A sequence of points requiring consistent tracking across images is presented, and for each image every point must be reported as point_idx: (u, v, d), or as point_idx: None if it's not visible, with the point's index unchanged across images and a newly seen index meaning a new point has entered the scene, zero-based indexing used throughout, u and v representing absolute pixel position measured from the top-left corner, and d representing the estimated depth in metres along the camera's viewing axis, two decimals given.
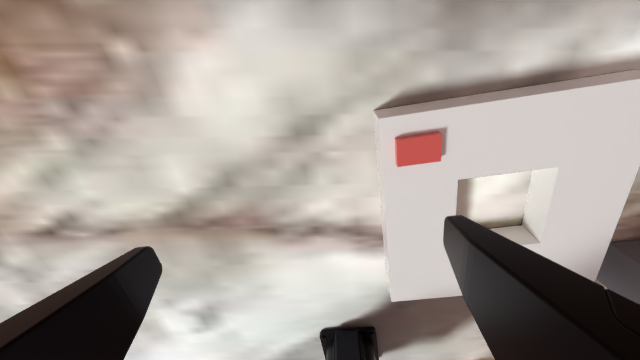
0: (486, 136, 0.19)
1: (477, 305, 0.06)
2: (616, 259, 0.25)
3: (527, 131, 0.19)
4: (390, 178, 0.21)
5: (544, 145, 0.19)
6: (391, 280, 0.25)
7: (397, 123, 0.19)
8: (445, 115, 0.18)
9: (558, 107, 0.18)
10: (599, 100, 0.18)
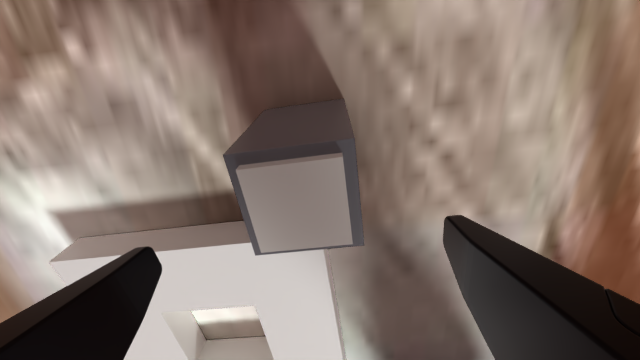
0: (150, 359, 0.23)
1: (477, 305, 0.06)
2: None
3: (137, 338, 0.21)
4: None
5: (144, 326, 0.21)
6: None
7: None
8: None
9: None
10: None
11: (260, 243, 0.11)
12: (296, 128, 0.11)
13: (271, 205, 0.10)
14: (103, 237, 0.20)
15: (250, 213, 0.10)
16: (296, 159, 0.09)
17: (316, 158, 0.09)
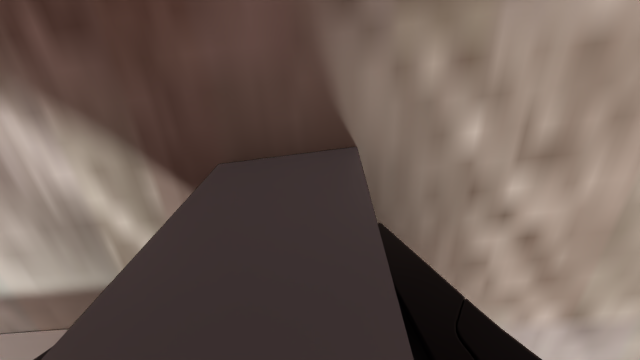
0: None
1: None
2: None
3: None
4: None
5: None
6: None
7: None
8: None
9: None
10: None
11: None
12: (250, 267, 0.04)
13: None
14: None
15: None
16: None
17: None
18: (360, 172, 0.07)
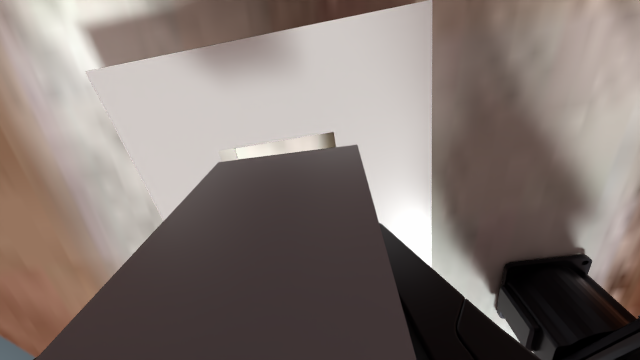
0: None
1: None
2: None
3: None
4: None
5: (197, 175, 0.17)
6: None
7: None
8: None
9: (156, 175, 0.17)
10: (137, 139, 0.16)
11: None
12: (249, 264, 0.04)
13: None
14: None
15: None
16: None
17: None
18: (360, 169, 0.07)
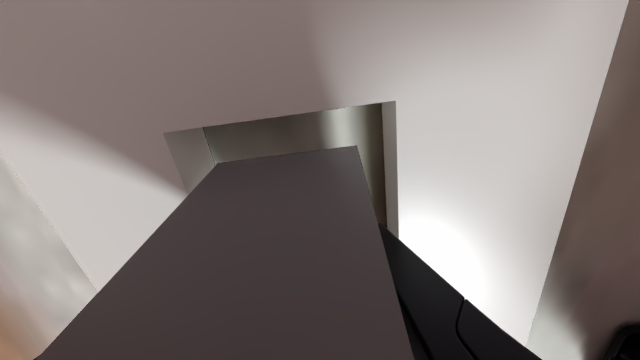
0: None
1: None
2: None
3: (110, 215, 0.10)
4: None
5: (125, 178, 0.09)
6: None
7: None
8: None
9: (48, 177, 0.09)
10: None
11: None
12: (249, 265, 0.04)
13: None
14: None
15: None
16: None
17: None
18: (360, 171, 0.07)
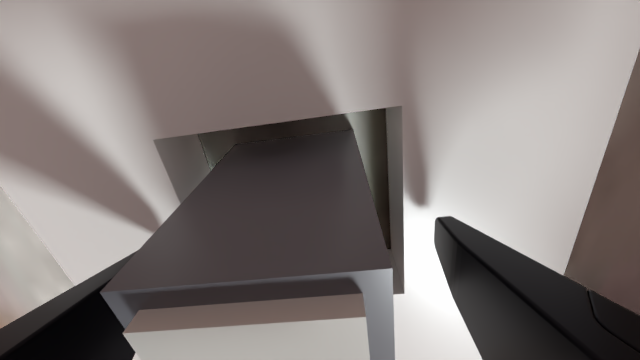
0: None
1: (465, 306, 0.06)
2: None
3: (99, 225, 0.09)
4: None
5: (114, 187, 0.09)
6: None
7: None
8: None
9: (33, 186, 0.09)
10: None
11: None
12: (272, 204, 0.06)
13: None
14: None
15: None
16: (260, 308, 0.04)
17: (304, 310, 0.04)
18: (355, 146, 0.08)
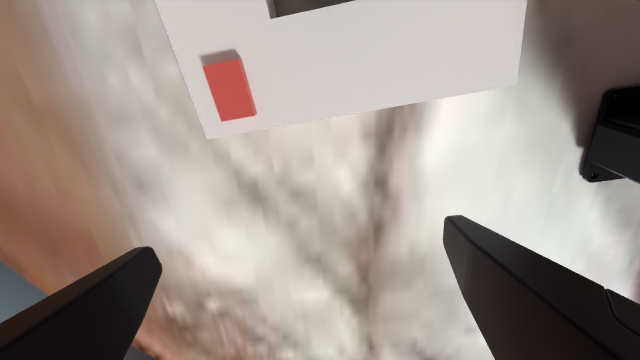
0: None
1: (477, 305, 0.06)
2: None
3: None
4: (277, 117, 0.16)
5: None
6: (462, 92, 0.15)
7: (207, 118, 0.16)
8: (186, 61, 0.15)
9: None
10: None
11: None
12: None
13: None
14: None
15: None
16: None
17: None
18: None
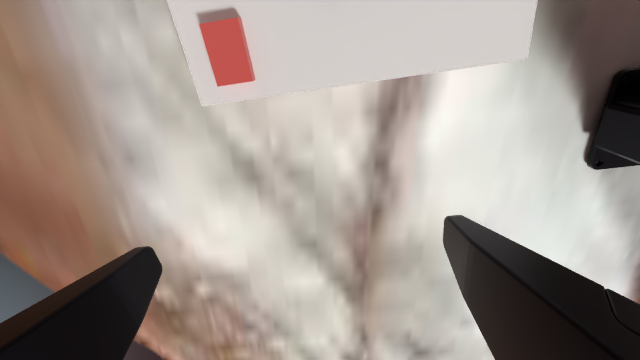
0: None
1: (477, 305, 0.06)
2: None
3: None
4: (277, 85, 0.15)
5: None
6: (471, 64, 0.15)
7: (203, 83, 0.15)
8: (182, 19, 0.14)
9: None
10: None
11: None
12: None
13: None
14: None
15: None
16: None
17: None
18: None
